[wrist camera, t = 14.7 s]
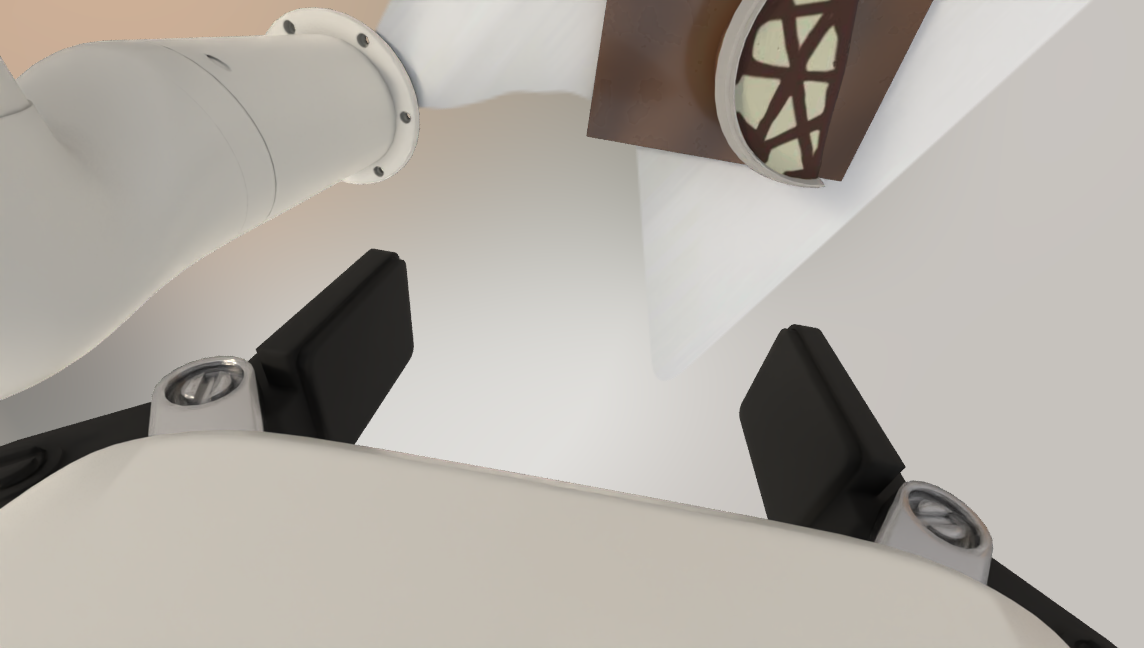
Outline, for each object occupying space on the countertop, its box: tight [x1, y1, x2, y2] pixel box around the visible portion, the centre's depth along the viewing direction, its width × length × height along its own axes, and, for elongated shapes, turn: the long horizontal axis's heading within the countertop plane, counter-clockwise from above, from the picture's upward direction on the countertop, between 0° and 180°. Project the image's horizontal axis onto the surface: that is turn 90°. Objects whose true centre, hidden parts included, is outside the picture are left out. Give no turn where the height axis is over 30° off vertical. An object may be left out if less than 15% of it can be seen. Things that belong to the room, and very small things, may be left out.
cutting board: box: [587, 0, 933, 181], centre depth 30 cm, size 20×13×2 cm, turn 82°
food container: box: [714, 0, 859, 188], centre depth 25 cm, size 12×6×10 cm, turn 5°
